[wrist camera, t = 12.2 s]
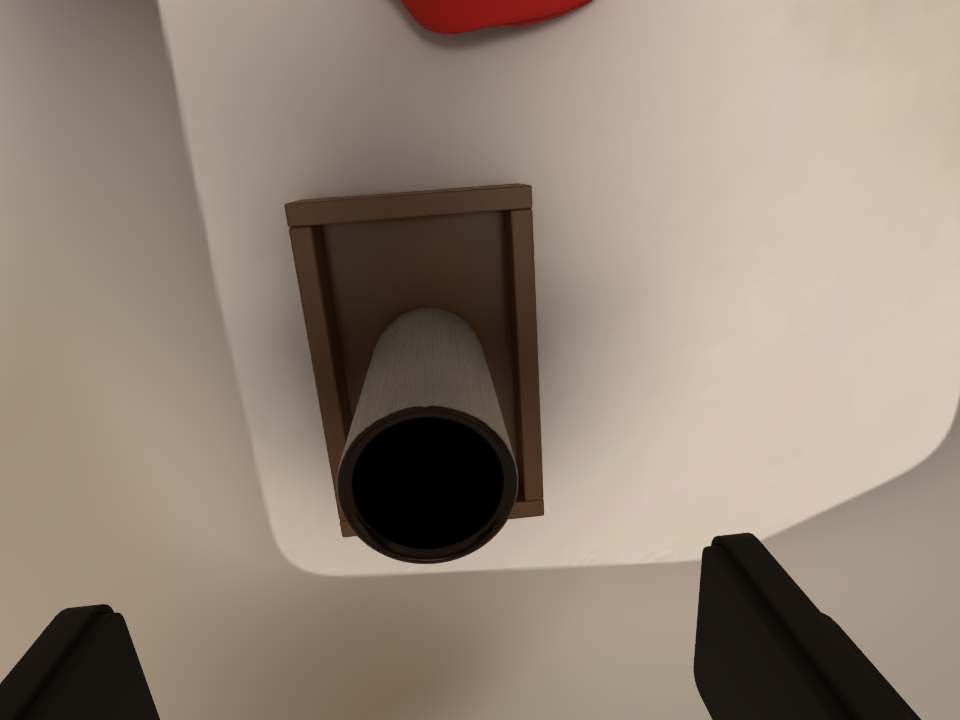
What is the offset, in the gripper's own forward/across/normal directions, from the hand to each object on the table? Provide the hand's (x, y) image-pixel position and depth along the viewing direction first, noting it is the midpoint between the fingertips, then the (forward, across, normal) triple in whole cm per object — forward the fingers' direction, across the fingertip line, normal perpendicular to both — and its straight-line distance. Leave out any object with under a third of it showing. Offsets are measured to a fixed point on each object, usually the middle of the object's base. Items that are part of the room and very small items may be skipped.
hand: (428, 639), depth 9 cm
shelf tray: (+16, 0, +1) cm, 16 cm away
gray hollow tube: (+16, 0, 0) cm, 16 cm away
